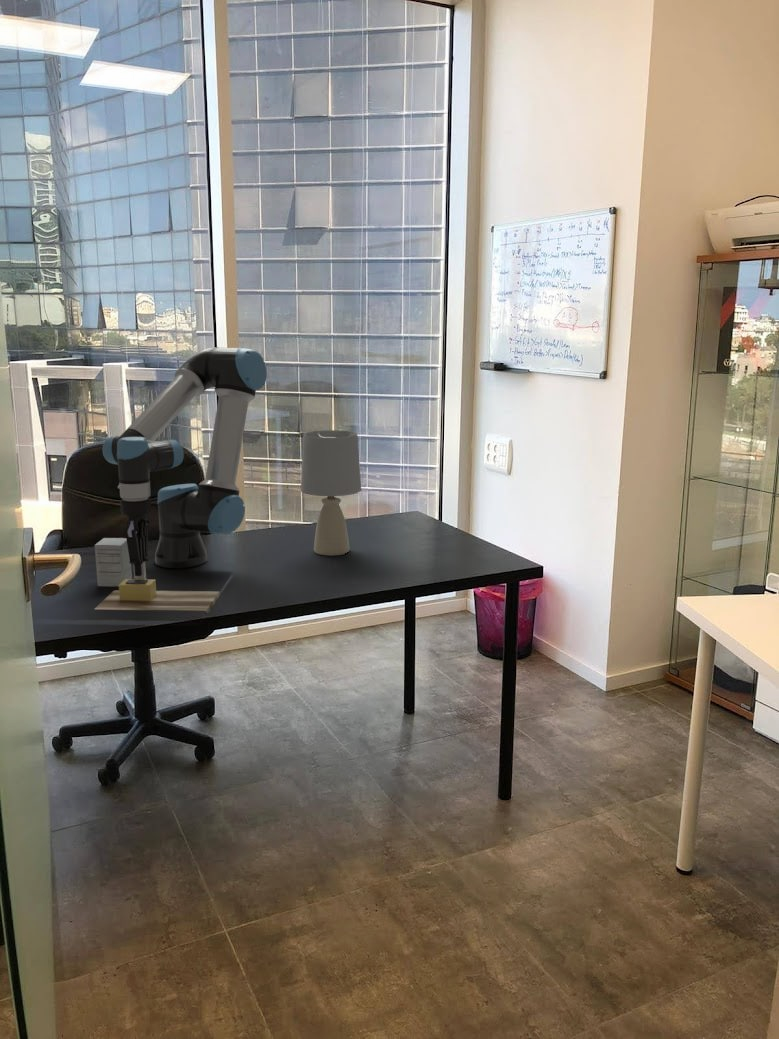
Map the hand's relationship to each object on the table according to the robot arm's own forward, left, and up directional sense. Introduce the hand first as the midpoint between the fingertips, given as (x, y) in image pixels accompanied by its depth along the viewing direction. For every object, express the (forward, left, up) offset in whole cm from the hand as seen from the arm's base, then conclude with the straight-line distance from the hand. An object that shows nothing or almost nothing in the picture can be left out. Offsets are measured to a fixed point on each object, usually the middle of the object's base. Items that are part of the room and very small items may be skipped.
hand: (140, 586), depth 226 cm
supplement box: (-9, -10, -3) cm, 14 cm away
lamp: (-46, +46, -3) cm, 65 cm away
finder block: (+3, 0, -2) cm, 4 cm away
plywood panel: (+5, +6, -3) cm, 9 cm away
